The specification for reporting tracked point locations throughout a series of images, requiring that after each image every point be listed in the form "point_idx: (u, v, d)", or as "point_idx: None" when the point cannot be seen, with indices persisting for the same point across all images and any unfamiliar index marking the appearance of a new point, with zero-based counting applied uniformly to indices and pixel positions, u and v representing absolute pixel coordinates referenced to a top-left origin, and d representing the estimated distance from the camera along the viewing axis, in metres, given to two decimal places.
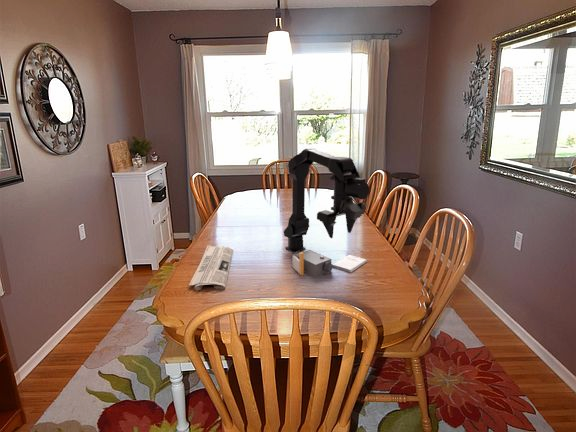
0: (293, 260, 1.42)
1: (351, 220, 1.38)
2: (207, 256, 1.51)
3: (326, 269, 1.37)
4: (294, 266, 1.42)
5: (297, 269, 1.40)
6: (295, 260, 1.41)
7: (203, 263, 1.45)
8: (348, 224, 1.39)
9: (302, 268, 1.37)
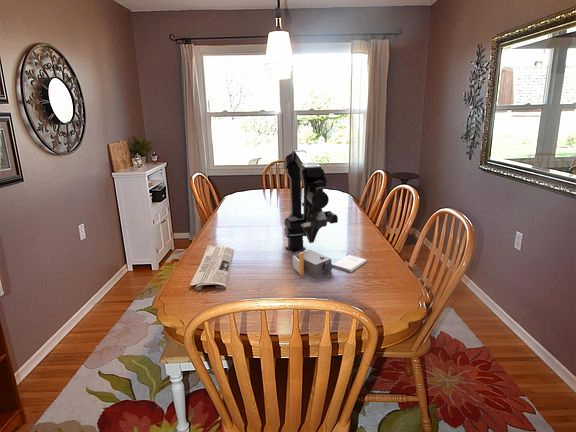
0: (293, 260, 1.42)
1: (313, 230, 1.35)
2: (207, 256, 1.51)
3: (326, 269, 1.37)
4: (294, 266, 1.42)
5: (297, 269, 1.40)
6: (295, 260, 1.41)
7: (204, 263, 1.45)
8: (311, 234, 1.36)
9: (302, 268, 1.37)
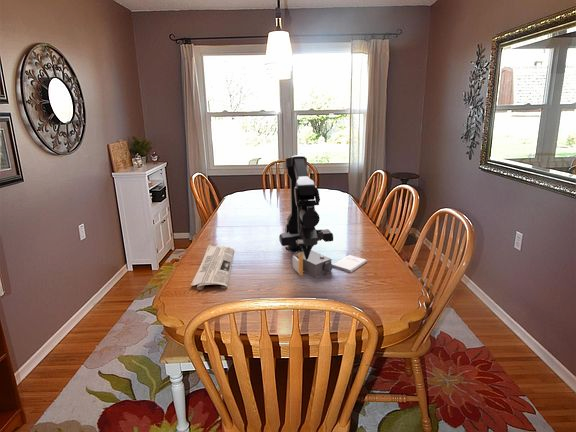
0: (293, 260, 1.42)
1: (307, 247, 1.35)
2: (208, 256, 1.51)
3: (326, 269, 1.37)
4: (294, 266, 1.42)
5: (297, 269, 1.40)
6: (295, 260, 1.41)
7: (204, 263, 1.45)
8: None
9: (301, 268, 1.37)
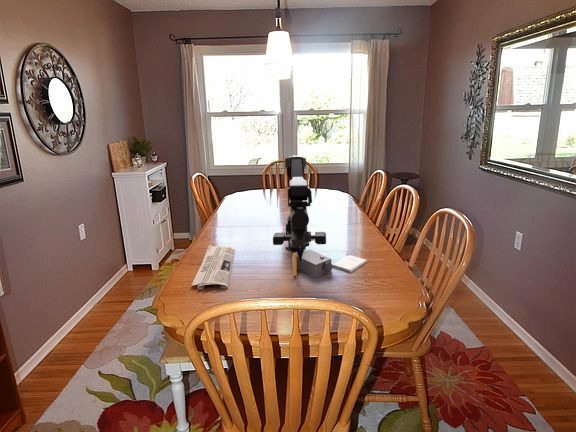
0: (292, 260, 1.43)
1: (300, 248, 1.34)
2: (209, 256, 1.51)
3: (326, 269, 1.37)
4: None
5: None
6: None
7: (205, 263, 1.45)
8: None
9: (295, 269, 1.36)
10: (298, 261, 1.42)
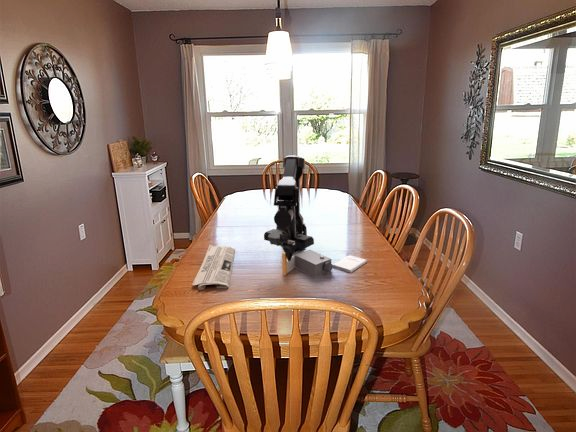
0: None
1: None
2: (209, 256, 1.51)
3: (326, 269, 1.37)
4: None
5: None
6: None
7: (205, 263, 1.45)
8: None
9: (284, 268, 1.37)
10: (298, 261, 1.42)
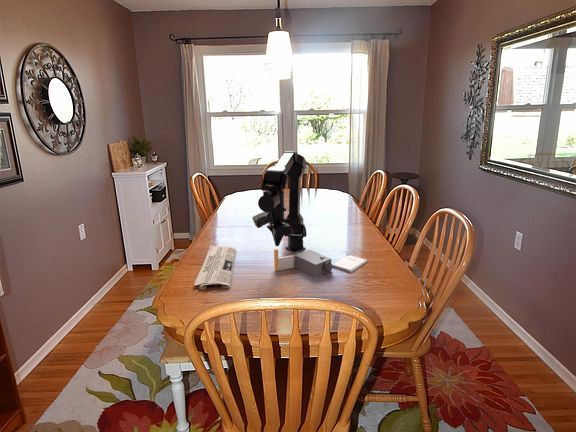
0: None
1: None
2: (210, 256, 1.51)
3: (326, 269, 1.37)
4: None
5: None
6: None
7: (207, 263, 1.45)
8: None
9: (275, 264, 1.41)
10: (298, 261, 1.42)
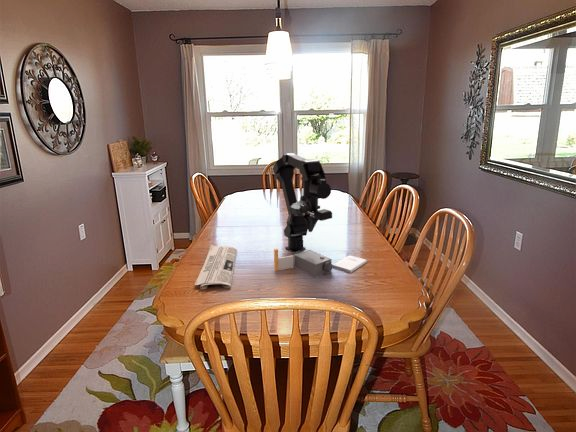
0: None
1: None
2: (211, 256, 1.51)
3: (326, 269, 1.37)
4: None
5: None
6: None
7: (207, 263, 1.45)
8: None
9: (275, 264, 1.41)
10: (298, 261, 1.42)
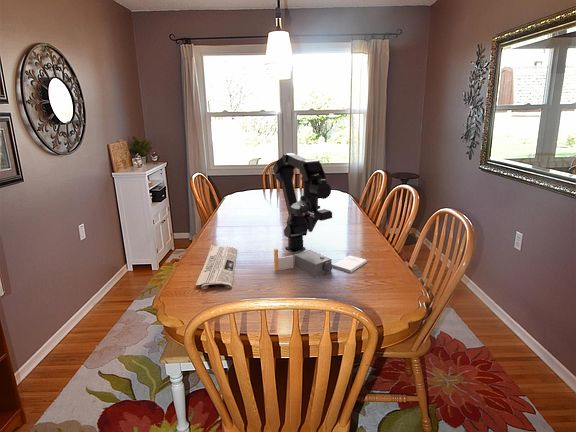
0: None
1: None
2: (212, 256, 1.51)
3: (326, 269, 1.37)
4: None
5: None
6: None
7: (208, 263, 1.45)
8: None
9: (275, 264, 1.41)
10: (298, 261, 1.42)
